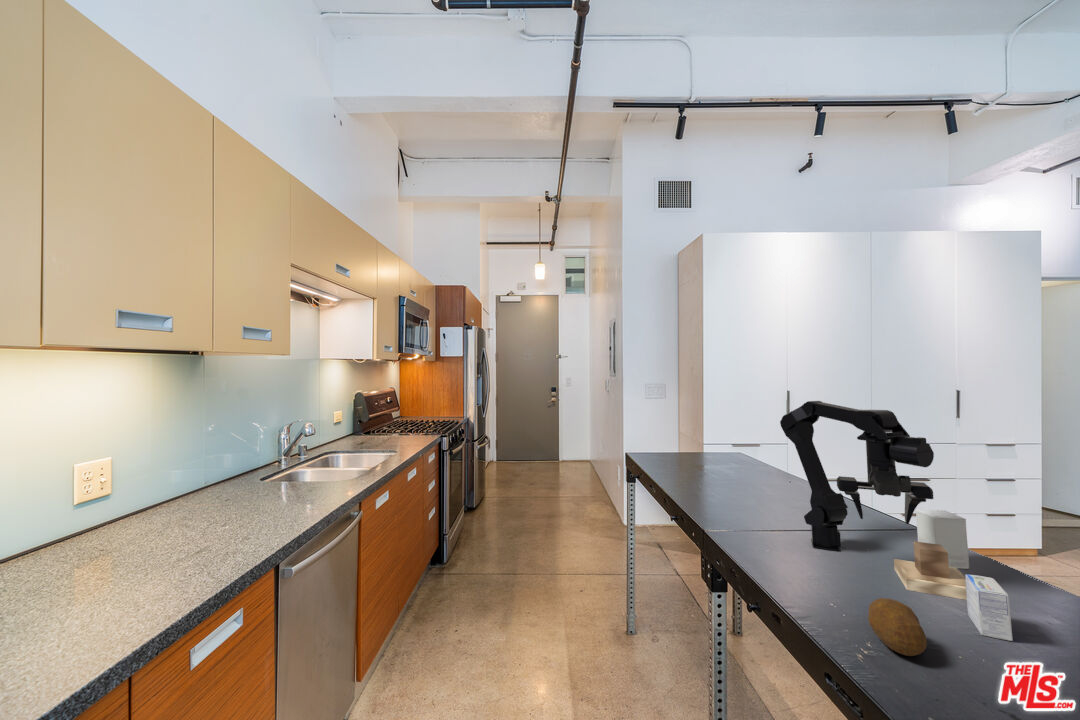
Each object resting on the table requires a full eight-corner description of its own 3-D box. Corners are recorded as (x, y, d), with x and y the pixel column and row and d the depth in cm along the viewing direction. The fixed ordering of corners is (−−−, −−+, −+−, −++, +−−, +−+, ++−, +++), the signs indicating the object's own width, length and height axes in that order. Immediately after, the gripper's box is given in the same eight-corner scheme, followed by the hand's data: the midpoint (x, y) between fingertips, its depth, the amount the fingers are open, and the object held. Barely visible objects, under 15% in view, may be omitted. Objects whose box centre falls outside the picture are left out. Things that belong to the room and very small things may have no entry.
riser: (906, 589, 100) (906, 577, 100) (894, 568, 110) (893, 558, 110) (977, 601, 94) (976, 588, 94) (957, 578, 104) (956, 566, 104)
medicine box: (1013, 642, 80) (1010, 595, 80) (980, 635, 82) (977, 589, 82) (997, 621, 86) (994, 577, 87) (967, 615, 89) (964, 572, 89)
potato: (892, 664, 75) (889, 619, 75) (854, 624, 87) (851, 584, 87) (946, 669, 73) (943, 622, 74) (899, 627, 85) (897, 587, 86)
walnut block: (921, 574, 101) (919, 548, 101) (914, 566, 105) (913, 541, 106) (949, 578, 99) (947, 552, 99) (941, 570, 103) (940, 544, 103)
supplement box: (970, 569, 109) (967, 518, 109) (936, 567, 110) (933, 517, 111) (949, 557, 116) (946, 509, 116) (917, 555, 117) (914, 508, 118)
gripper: (840, 462, 108) (843, 525, 107) (939, 469, 99) (943, 537, 98) (835, 455, 117) (838, 512, 117) (924, 460, 109) (927, 522, 108)
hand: (883, 521), depth 110 cm, fingers open, 9 cm apart
